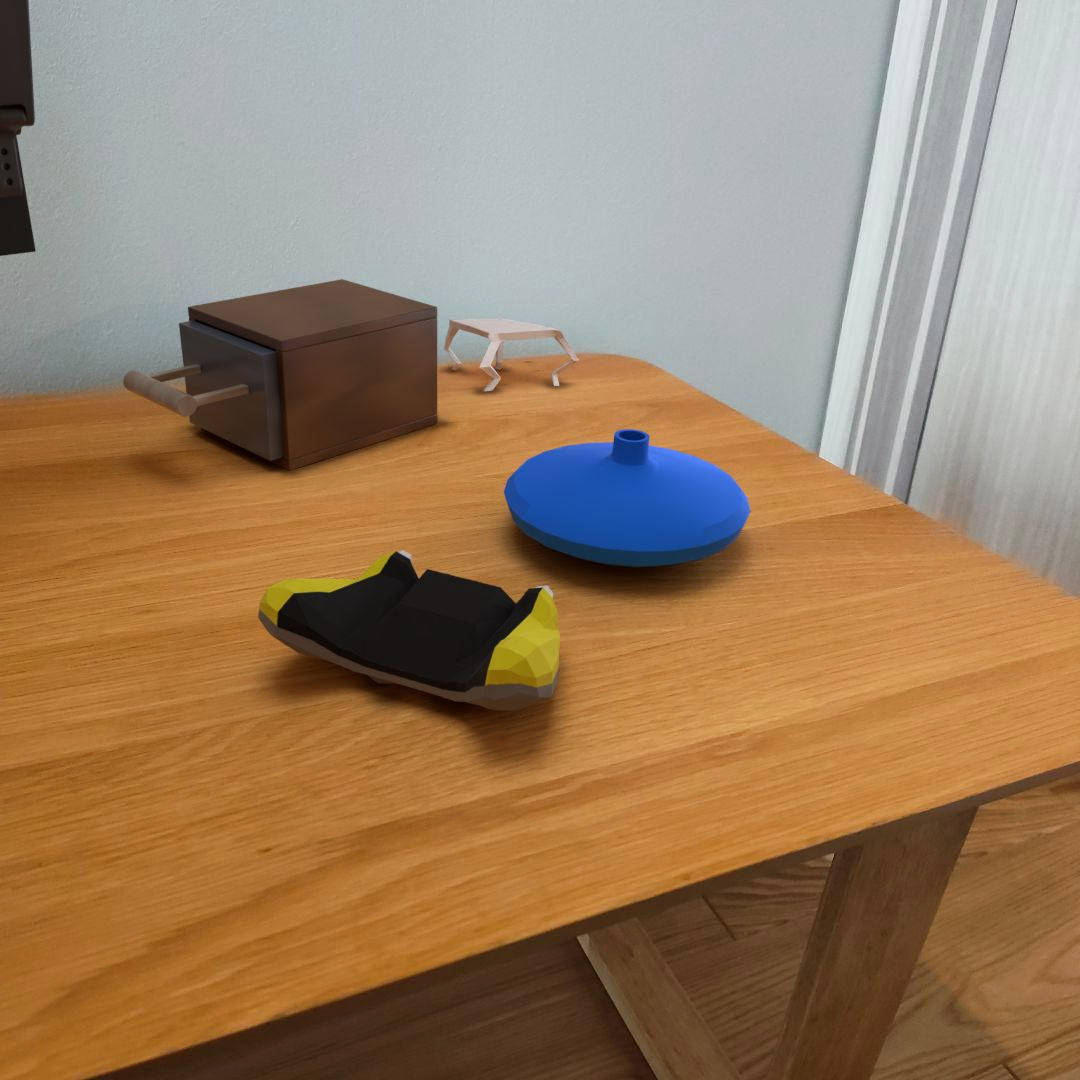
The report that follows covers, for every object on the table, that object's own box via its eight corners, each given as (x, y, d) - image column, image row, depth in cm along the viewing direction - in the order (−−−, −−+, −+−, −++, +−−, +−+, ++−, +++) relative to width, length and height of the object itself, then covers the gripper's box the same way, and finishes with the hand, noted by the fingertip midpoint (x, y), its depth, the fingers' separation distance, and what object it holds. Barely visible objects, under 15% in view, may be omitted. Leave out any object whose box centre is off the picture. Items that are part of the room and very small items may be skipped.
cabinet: (289, 470, 76) (281, 340, 72) (199, 427, 83) (187, 306, 79) (437, 423, 86) (437, 306, 82) (346, 388, 93) (342, 278, 89)
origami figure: (445, 394, 93) (445, 339, 91) (443, 365, 100) (444, 313, 98) (580, 395, 94) (584, 341, 92) (569, 366, 102) (572, 316, 99)
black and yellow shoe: (525, 775, 47) (600, 664, 56) (530, 673, 45) (608, 572, 53) (246, 688, 52) (354, 598, 61) (237, 592, 50) (351, 511, 58)
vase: (473, 574, 64) (475, 465, 61) (533, 475, 78) (537, 383, 74) (737, 613, 61) (753, 502, 58) (750, 504, 75) (764, 409, 72)
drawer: (198, 483, 72) (186, 372, 68) (119, 440, 78) (104, 336, 74) (411, 417, 85) (410, 321, 81) (329, 385, 91) (325, 295, 87)
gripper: (-213, -239, 53) (-105, 241, 64) (-112, -268, 45) (-9, 282, 56) (-56, -213, 58) (20, 227, 69) (58, -235, 51) (123, 263, 61)
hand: (7, 251), depth 62 cm, fingers closed
